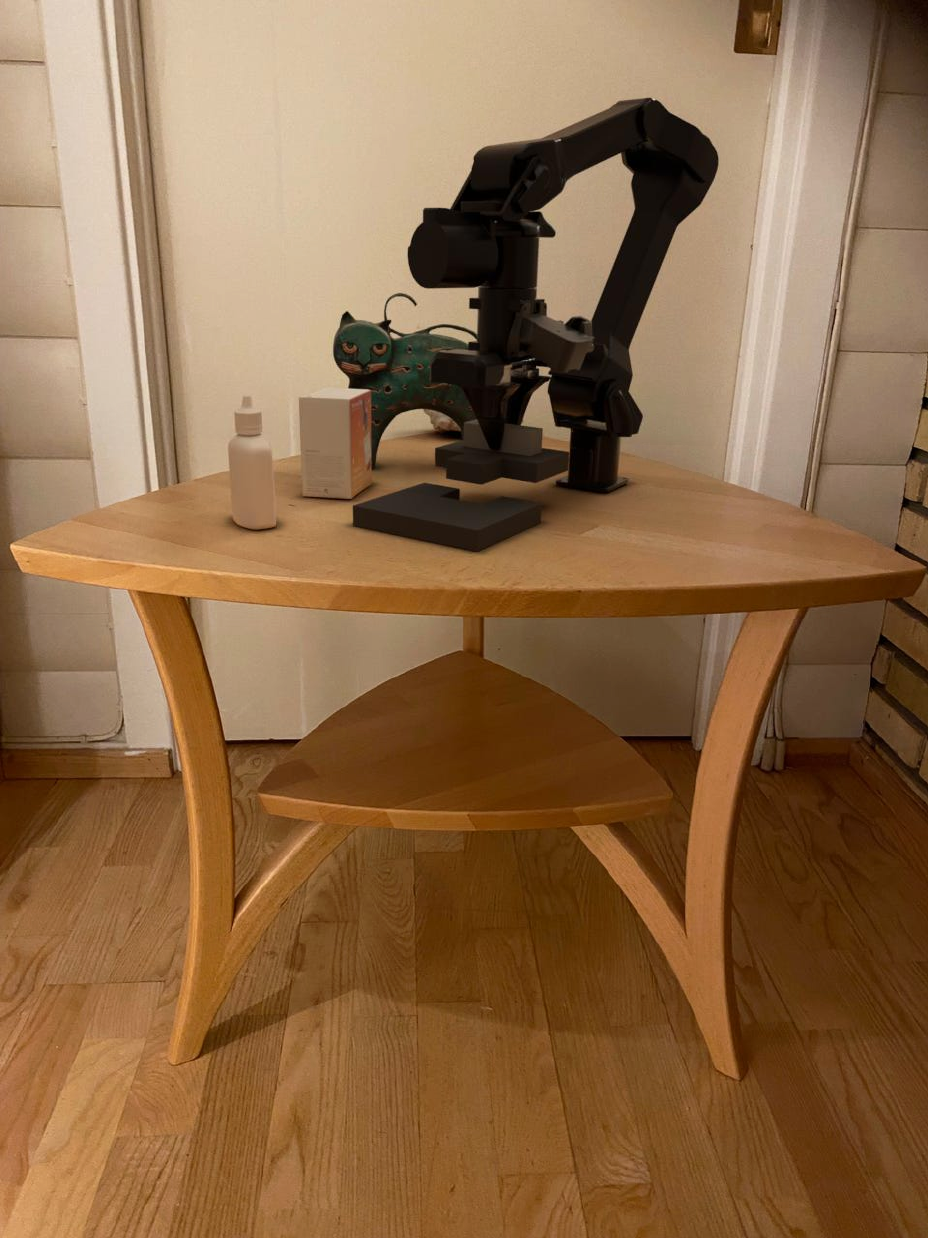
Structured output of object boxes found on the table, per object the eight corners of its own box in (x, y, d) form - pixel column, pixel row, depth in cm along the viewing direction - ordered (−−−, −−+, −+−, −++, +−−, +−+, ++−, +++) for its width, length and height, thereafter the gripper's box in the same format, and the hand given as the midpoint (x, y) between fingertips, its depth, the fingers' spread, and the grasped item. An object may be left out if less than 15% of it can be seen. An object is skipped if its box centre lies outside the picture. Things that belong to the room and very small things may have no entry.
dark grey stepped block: (470, 455, 105) (471, 414, 104) (568, 470, 99) (571, 427, 98) (413, 473, 97) (413, 428, 95) (517, 490, 91) (519, 443, 89)
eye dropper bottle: (279, 515, 95) (273, 391, 90) (275, 531, 90) (268, 400, 85) (234, 515, 94) (225, 391, 90) (227, 531, 89) (218, 400, 85)
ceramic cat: (337, 472, 113) (333, 292, 105) (331, 460, 118) (326, 289, 111) (500, 467, 117) (506, 295, 110) (486, 456, 123) (492, 292, 116)
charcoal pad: (424, 500, 101) (424, 482, 101) (541, 522, 94) (542, 502, 94) (352, 525, 92) (352, 505, 91) (476, 551, 85) (477, 530, 84)
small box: (351, 500, 101) (349, 399, 97) (300, 497, 102) (297, 396, 98) (373, 483, 108) (372, 388, 104) (326, 480, 109) (323, 385, 105)
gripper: (534, 294, 82) (526, 474, 87) (623, 288, 96) (611, 443, 102) (426, 288, 87) (425, 458, 93) (526, 283, 102) (520, 431, 108)
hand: (501, 447), depth 99 cm, fingers closed on dark grey stepped block, 2 cm apart
